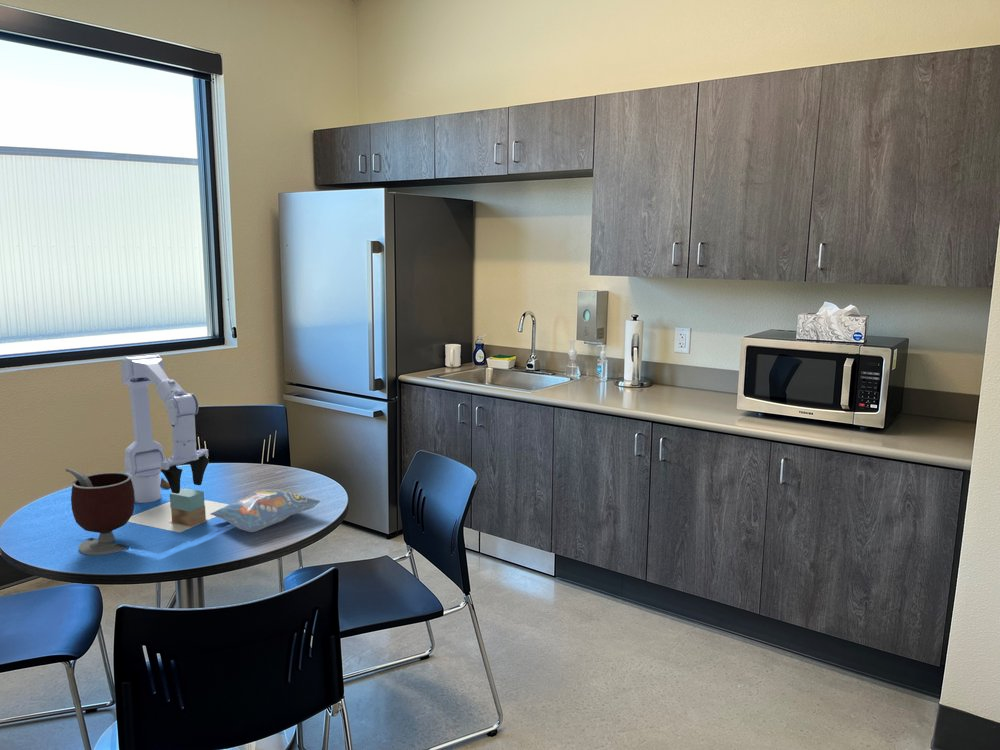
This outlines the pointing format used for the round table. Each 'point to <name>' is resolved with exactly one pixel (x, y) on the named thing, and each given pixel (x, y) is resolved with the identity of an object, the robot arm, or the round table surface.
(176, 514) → the walnut block
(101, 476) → the mate gourd
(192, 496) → the teal block
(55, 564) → the round table surface
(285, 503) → the packet
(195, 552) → the round table surface
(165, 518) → the baseplate
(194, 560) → the round table surface
